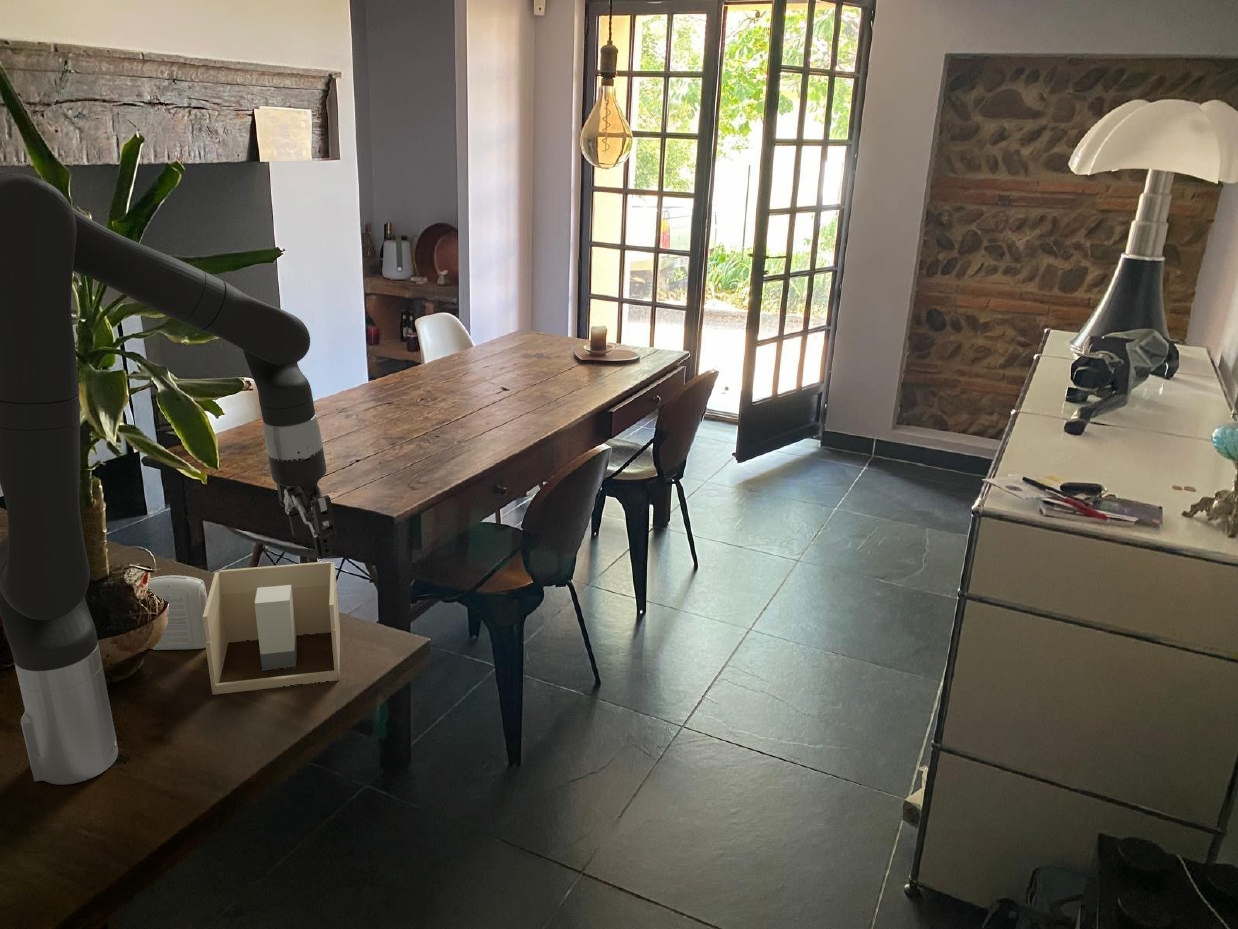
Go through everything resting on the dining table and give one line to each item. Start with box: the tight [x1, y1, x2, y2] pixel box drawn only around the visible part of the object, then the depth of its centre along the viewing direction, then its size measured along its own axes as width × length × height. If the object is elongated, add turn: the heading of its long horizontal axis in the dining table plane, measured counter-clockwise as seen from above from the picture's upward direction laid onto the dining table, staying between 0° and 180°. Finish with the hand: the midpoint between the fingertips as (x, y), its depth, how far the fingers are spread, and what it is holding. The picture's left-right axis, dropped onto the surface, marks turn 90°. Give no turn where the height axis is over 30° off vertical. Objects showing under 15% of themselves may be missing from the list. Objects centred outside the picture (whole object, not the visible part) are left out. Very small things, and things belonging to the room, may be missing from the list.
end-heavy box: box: [255, 585, 298, 672], centre depth 145 cm, size 5×5×12 cm
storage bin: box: [203, 560, 341, 695], centre depth 145 cm, size 18×15×13 cm
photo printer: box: [148, 574, 208, 651], centre depth 148 cm, size 10×4×12 cm, turn 98°
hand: (312, 545), depth 138 cm, fingers open, 8 cm apart
